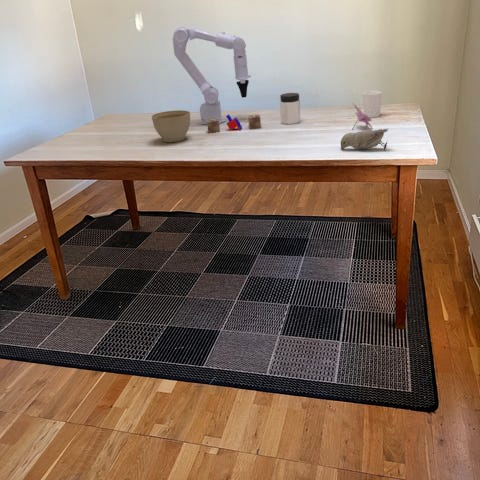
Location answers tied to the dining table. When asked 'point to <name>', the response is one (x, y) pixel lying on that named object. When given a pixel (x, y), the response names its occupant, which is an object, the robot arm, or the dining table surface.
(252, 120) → the walnut cube one
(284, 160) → the dining table surface
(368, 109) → the white cup
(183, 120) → the planter bowl
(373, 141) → the decorative bird
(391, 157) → the dining table surface
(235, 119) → the toy building block
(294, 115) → the jar
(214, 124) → the walnut cube seven
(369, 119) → the lily
